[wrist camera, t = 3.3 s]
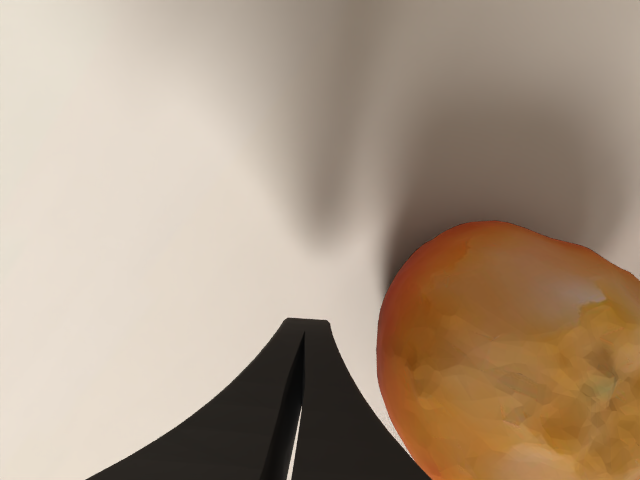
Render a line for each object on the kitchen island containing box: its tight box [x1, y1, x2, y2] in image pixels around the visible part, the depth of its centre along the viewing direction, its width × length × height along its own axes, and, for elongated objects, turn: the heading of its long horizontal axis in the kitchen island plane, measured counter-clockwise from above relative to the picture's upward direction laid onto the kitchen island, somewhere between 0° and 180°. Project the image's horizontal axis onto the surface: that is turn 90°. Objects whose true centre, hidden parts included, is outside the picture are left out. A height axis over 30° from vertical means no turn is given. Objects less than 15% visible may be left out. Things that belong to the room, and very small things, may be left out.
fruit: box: [376, 221, 640, 480], centre depth 11 cm, size 8×8×8 cm
